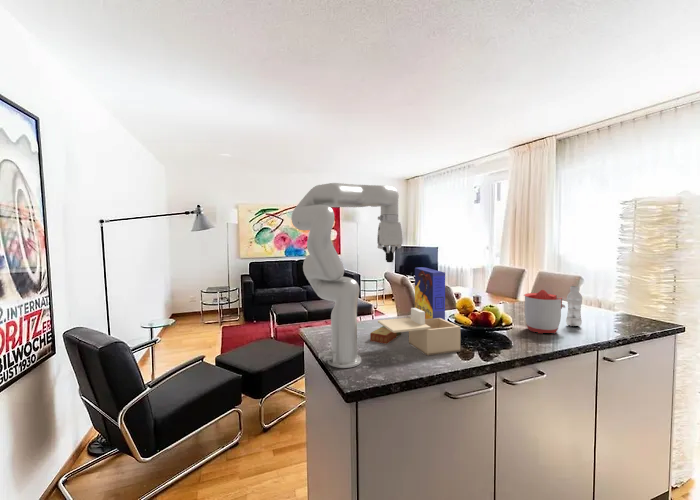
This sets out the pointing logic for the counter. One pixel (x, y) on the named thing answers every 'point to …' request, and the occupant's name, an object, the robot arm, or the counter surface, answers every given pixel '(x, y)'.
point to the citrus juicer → (543, 312)
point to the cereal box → (430, 292)
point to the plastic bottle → (574, 307)
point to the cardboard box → (436, 337)
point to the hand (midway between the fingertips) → (389, 262)
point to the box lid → (407, 322)
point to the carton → (383, 335)
